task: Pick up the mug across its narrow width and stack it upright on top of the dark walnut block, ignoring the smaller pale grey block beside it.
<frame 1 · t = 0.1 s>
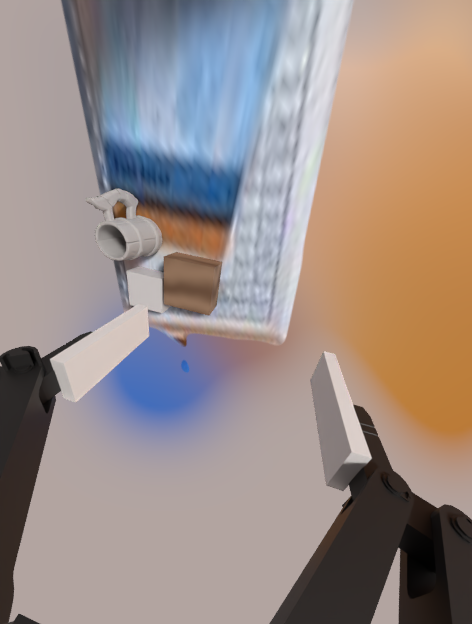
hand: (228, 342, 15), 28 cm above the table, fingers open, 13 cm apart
mug: (145, 225, 42), on the table
grey block: (155, 286, 47), on the table
walnut block: (197, 279, 44), on the table
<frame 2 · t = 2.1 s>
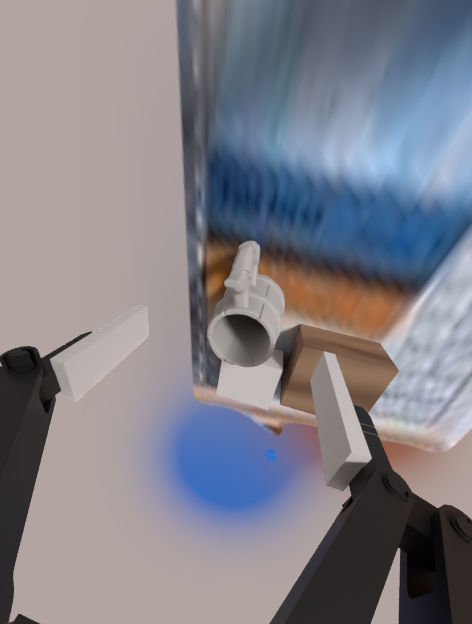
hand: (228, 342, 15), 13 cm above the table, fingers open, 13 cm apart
mug: (255, 283, 26), on the table
grey block: (251, 364, 32), on the table
walnut block: (325, 362, 29), on the table
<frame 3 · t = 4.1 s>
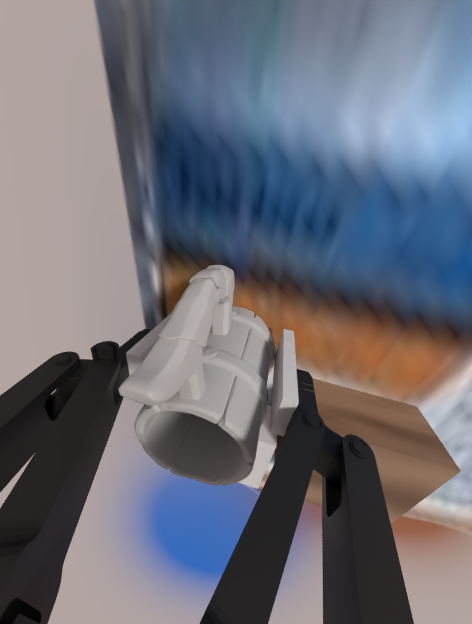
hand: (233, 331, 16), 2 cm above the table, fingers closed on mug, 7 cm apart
mug: (233, 319, 18), on the table, touching gripper
grey block: (235, 420, 24), on the table
walnut block: (336, 424, 21), on the table
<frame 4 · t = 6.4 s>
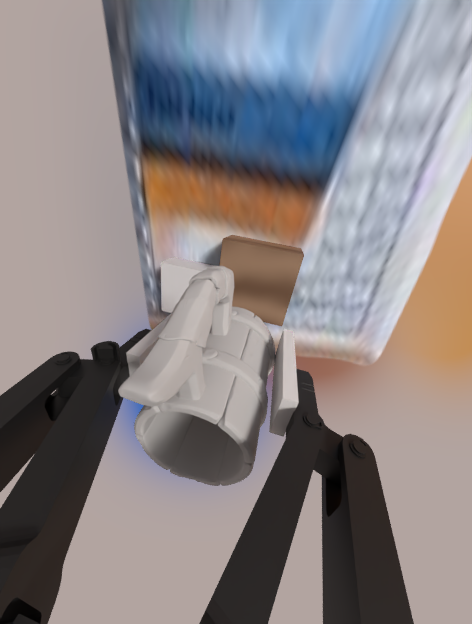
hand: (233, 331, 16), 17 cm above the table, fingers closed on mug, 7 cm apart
mug: (233, 319, 18), point 15 cm above the table, touching gripper
grey block: (195, 285, 34), on the table
walnut block: (258, 275, 31), on the table
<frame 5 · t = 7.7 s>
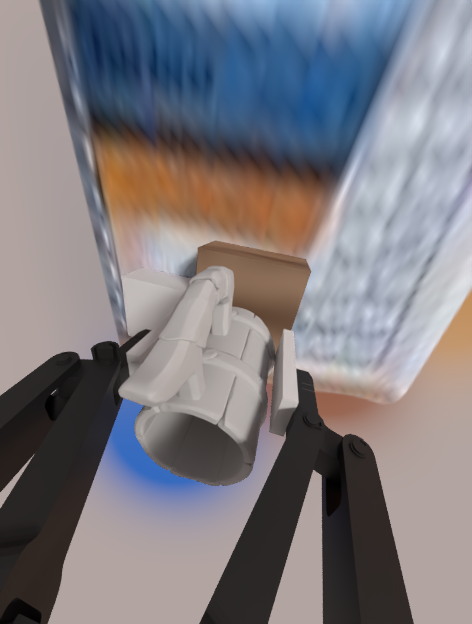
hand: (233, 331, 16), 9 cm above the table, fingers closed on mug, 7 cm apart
mug: (233, 320, 18), point 7 cm above the table, touching gripper
grey block: (172, 302, 27), on the table
walnut block: (250, 292, 24), on the table
when the fingers open (8 cm above the table, at t = 8.8 s): mug stays where it is, resting on walnut block.
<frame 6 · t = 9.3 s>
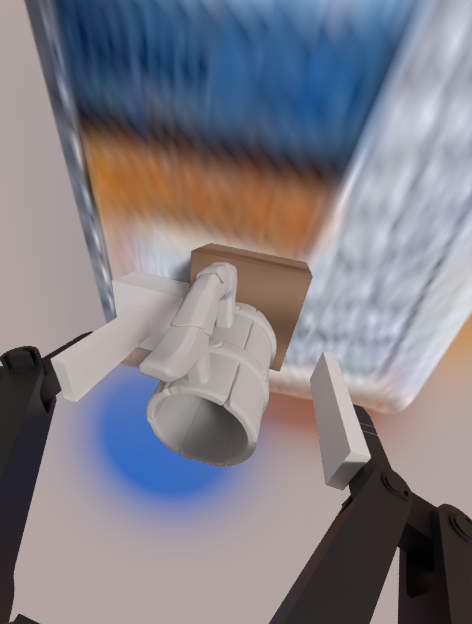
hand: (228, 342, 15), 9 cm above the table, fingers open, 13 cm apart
mug: (236, 315, 19), point 5 cm above the table, touching walnut block
grey block: (166, 307, 26), on the table
walnut block: (248, 296, 23), on the table
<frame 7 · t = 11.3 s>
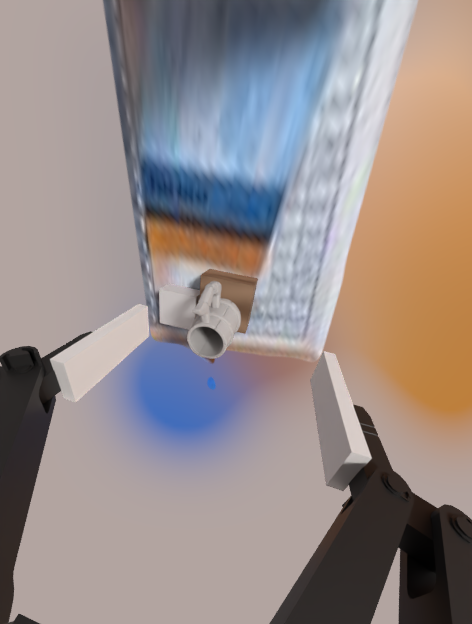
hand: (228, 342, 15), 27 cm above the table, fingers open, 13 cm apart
mug: (222, 304, 39), point 5 cm above the table, touching walnut block
grey block: (185, 303, 46), on the table
walnut block: (230, 296, 43), on the table
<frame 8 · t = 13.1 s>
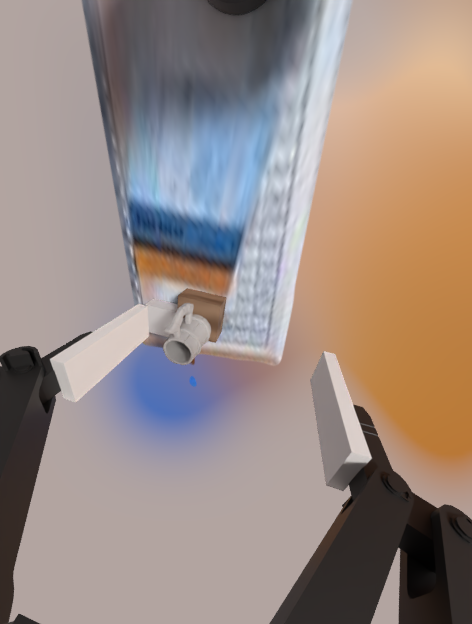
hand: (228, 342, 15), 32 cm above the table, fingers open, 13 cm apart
mug: (196, 319, 47), point 5 cm above the table, touching walnut block
grey block: (168, 315, 55), on the table
walnut block: (204, 310, 52), on the table
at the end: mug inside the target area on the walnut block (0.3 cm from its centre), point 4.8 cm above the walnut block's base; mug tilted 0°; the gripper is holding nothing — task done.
